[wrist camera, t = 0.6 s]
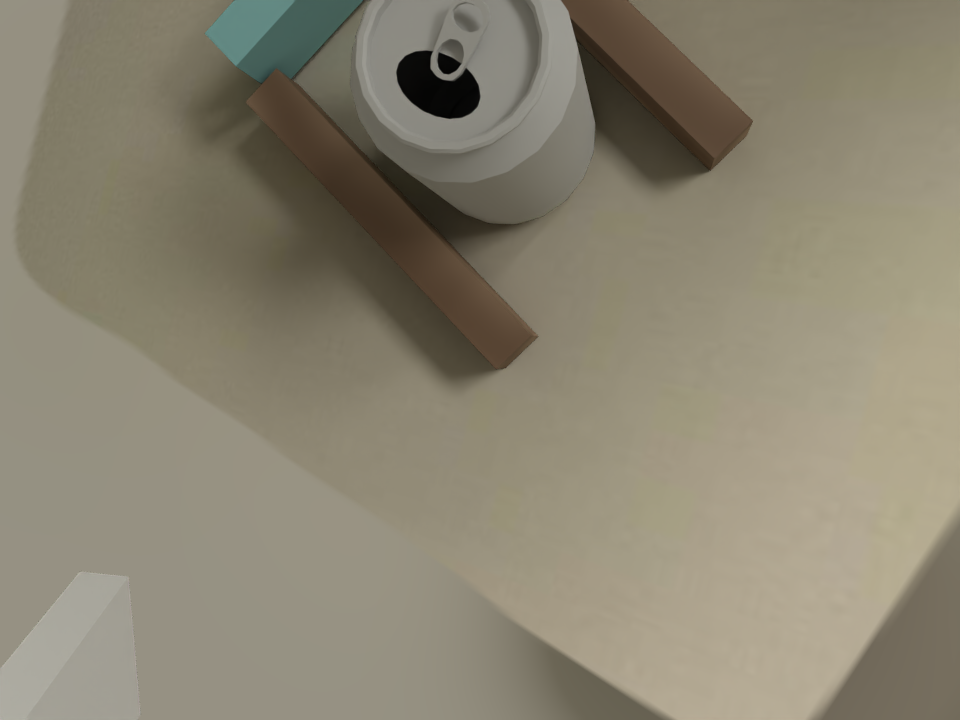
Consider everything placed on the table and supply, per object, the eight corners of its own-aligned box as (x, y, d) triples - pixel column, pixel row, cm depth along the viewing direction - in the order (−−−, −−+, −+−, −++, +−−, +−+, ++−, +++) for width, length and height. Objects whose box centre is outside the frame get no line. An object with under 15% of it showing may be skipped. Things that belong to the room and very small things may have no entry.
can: (397, 177, 39) (288, 102, 27) (480, 26, 38) (405, -119, 26) (541, 258, 38) (493, 217, 26) (629, 104, 37) (621, -10, 25)
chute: (484, -117, 38) (473, -148, 36) (746, 136, 36) (753, 121, 34) (268, 116, 40) (245, 102, 38) (505, 368, 38) (496, 369, 36)
